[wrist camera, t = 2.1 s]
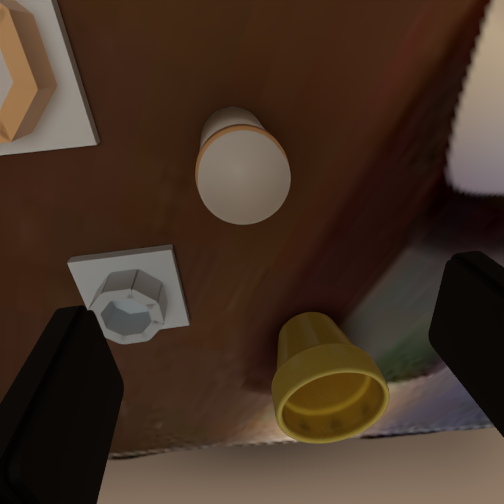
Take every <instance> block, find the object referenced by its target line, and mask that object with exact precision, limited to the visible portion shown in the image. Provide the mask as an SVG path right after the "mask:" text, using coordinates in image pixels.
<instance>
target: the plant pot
mask: <svg viewBox="0 0 504 504" xmlns="http://www.w3.org/2000/svg"><path fill="white" fill-rule="evenodd" d="M272 397H273V404H274V409H275V415H276V419H277V423H278V425H279V427H280V428H281V430H282V431H283V432H284V433H285V434H286V435H288V436H289V437H291V438H293V439H296V440H298V441H302V442H307V443H330V442H335V441H340V440H343V439H346V438H349V437H352V436H354V435H356V434H358V433H361V432H362V431H364V430H366V429H367V428H369V427H370V426H371V425H373V424H374V423H375V422H376V421H377V420H378V419H379V418H380V417H381V416H382V414H383V413H384V412H385V410H386V408H387V406H388V403H389V389H388V386H387V383H386V381H385V379H384V378H383V376H382V374H381V372H380V371H379V369H378V367H377V366H376V364H375V362H374V361H373V359H372V358H371V357H370V355H369V354H368V353H366V352H365V351H364V350H362V349H361V348H359V347H356V346H354V345H353V344H352V342H351V341H350V340H349V339H348V338H347V337H346V335H345V334H344V333H343V332H342V331H341V330H340V329H339V327H338V326H337V325H336V324H335V323H334V321H333V320H332V319H331V318H330V317H328V316H327V315H325V314H322V313H319V312H305V313H302V314H299V315H296V316H294V317H293V318H291V319H290V320H288V321H287V322H286V323H285V324H284V326H283V327H282V329H281V330H280V333H279V338H278V361H277V372H276V374H275V376H274V378H273V381H272Z"/></svg>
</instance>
